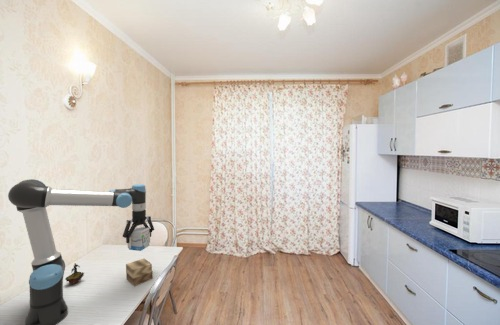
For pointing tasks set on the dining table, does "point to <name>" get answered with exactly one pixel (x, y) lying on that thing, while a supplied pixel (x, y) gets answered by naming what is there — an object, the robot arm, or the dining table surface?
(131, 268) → the slab top
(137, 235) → the ink box
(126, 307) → the dining table surface
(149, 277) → the slab bottom
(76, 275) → the figurine
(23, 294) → the dining table surface
